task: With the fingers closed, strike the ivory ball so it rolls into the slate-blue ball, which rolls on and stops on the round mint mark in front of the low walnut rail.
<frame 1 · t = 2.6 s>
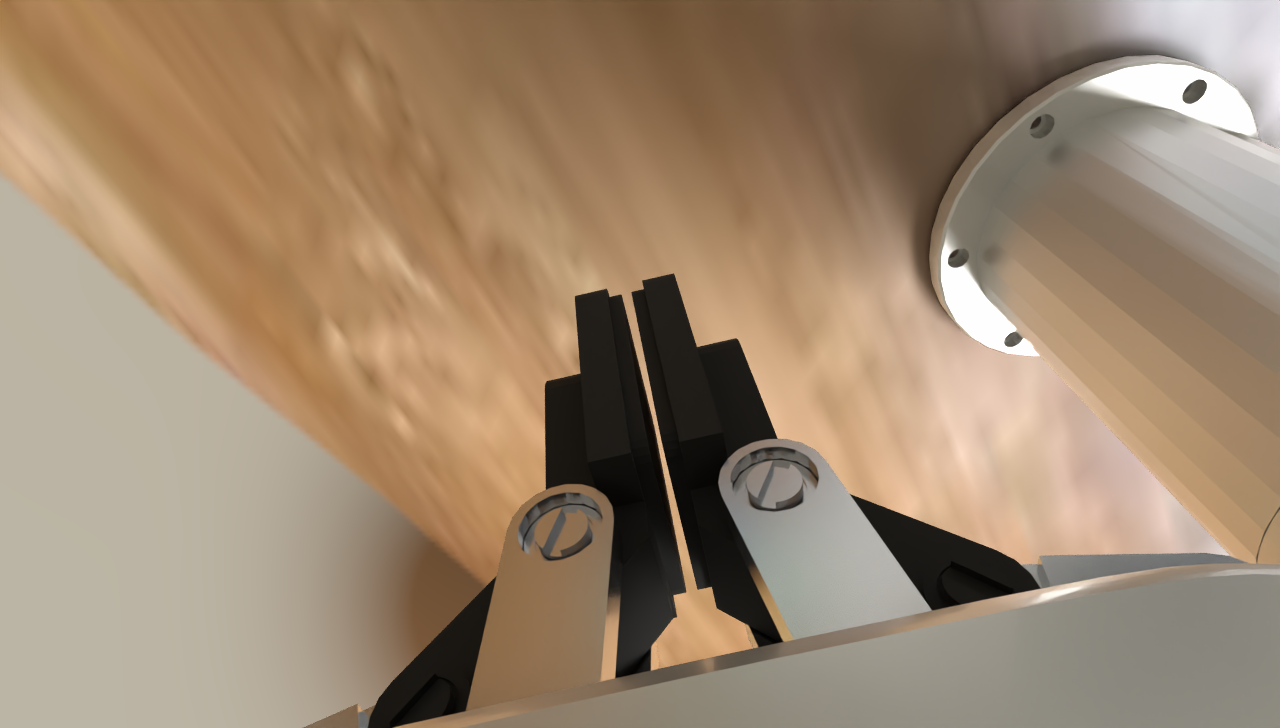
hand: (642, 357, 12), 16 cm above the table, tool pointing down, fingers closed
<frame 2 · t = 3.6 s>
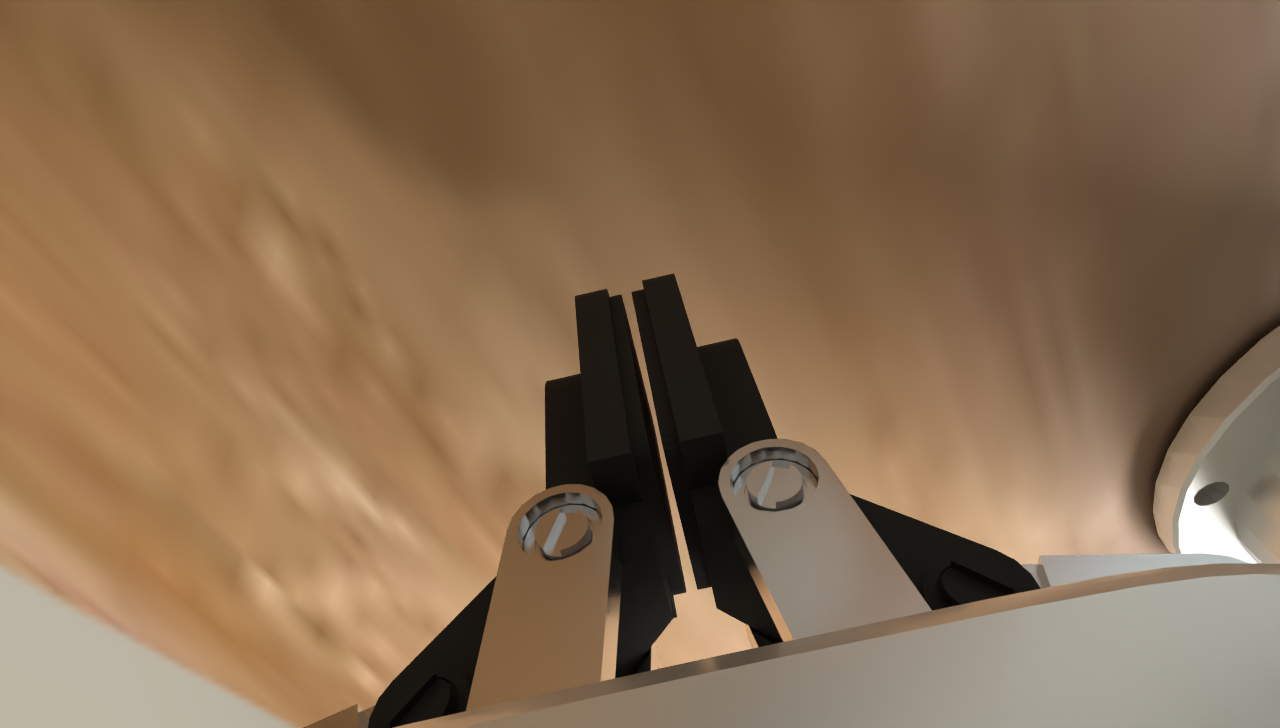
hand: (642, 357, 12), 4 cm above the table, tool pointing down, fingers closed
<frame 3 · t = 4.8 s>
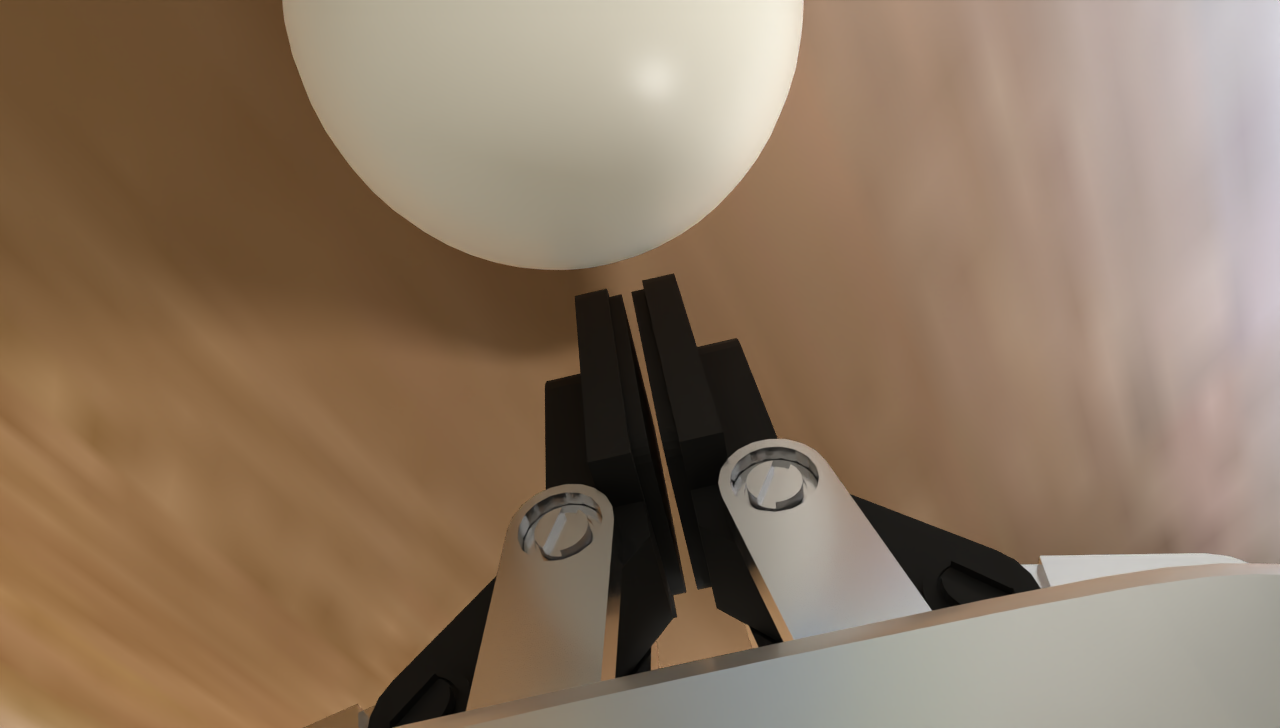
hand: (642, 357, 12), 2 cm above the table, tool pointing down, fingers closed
cue ball: (552, 23, 8), on the table
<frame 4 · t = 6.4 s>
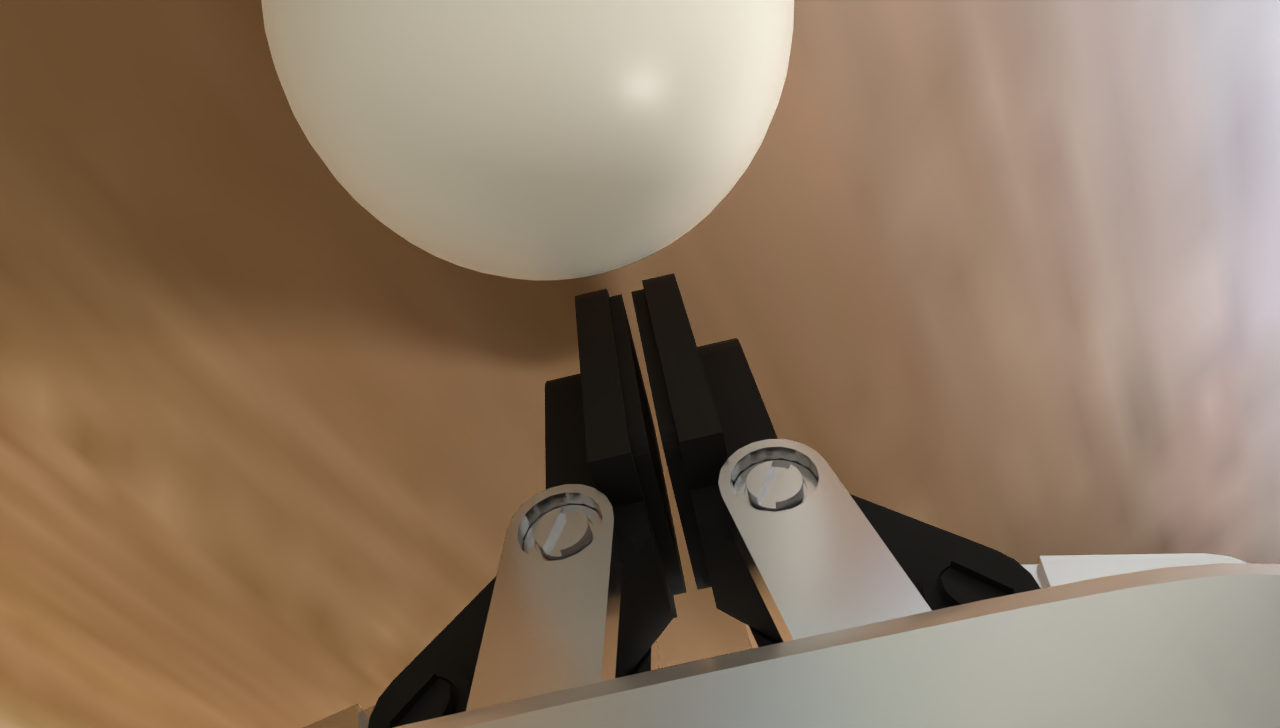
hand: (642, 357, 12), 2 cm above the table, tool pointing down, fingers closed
cue ball: (539, 30, 8), on the table
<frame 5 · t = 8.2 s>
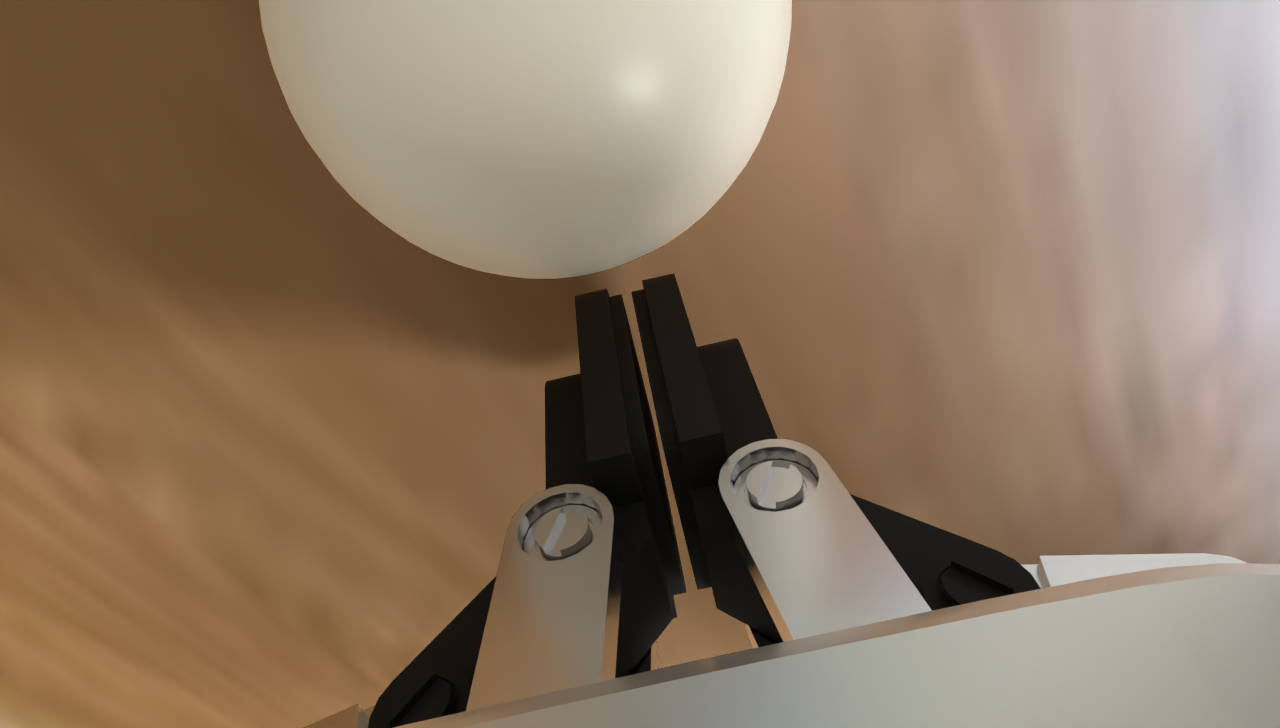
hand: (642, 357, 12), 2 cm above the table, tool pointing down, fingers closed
cue ball: (537, 28, 8), on the table
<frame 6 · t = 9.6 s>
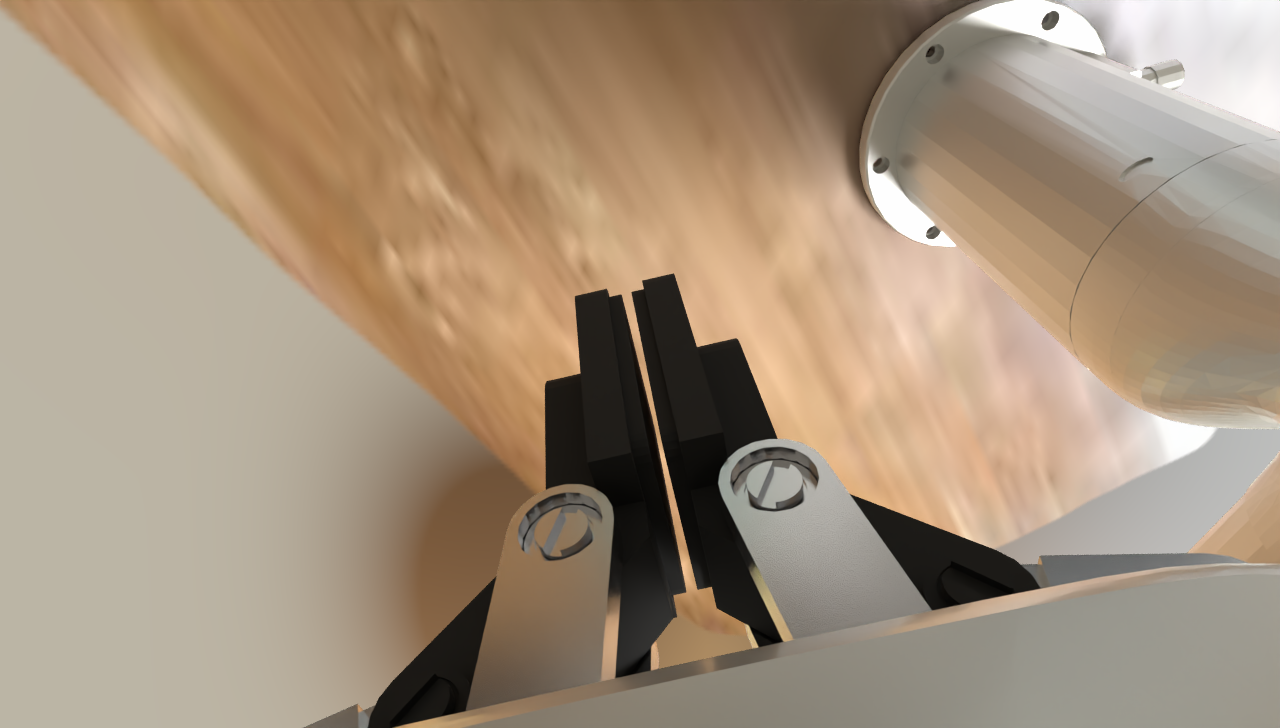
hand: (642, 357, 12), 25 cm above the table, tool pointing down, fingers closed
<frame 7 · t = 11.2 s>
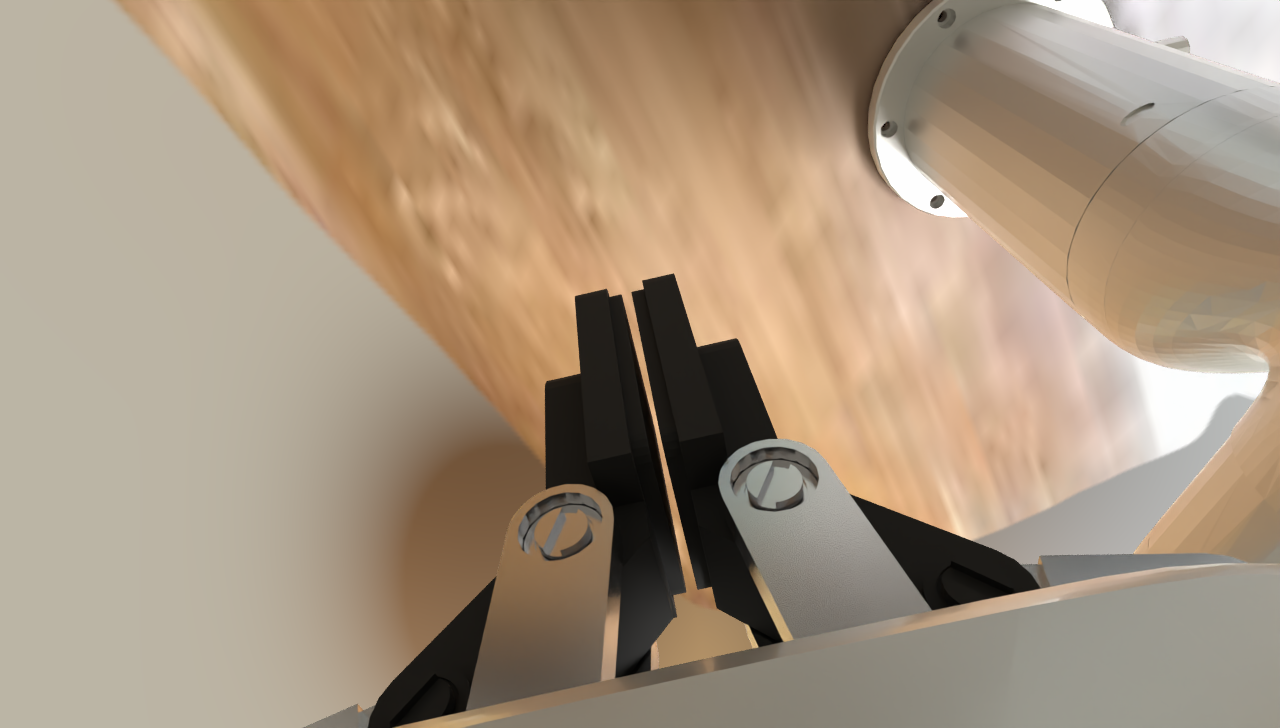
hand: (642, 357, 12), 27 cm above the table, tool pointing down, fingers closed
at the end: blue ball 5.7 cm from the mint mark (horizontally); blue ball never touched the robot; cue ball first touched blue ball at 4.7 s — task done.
